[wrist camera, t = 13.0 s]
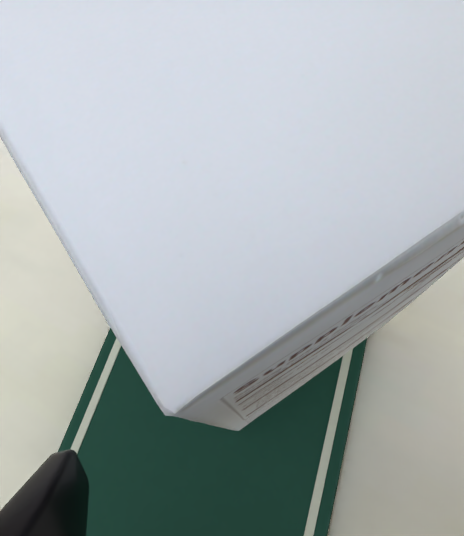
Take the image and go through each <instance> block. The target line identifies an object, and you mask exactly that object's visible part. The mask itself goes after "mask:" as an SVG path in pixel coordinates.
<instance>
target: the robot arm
mask: <svg viewBox="0 0 464 536" xmlns="http://www.w3.org/2000/svg"><path fill="white" fill-rule="evenodd" d="M88 503H89V480H88V477H87V475H86V473H85V470H84V468H83V466H82V464H81V462H80V460H79V457H78V455H77V453H76V452H75V451H74V450H71V449H69V450H65V451H61V452H57V453H54V454H52V455H51V456H50V457H49V458H48V459H47V460H46V461H45V462H44V463H43V464H42V465H41V467H40V468H39V469H38V470H37V471H36V472H35V473H34V474H33V475H32V477H31V478H30V479H29V480H28V481H27V482H26V483H25V484H24V485H23V486H22V488H21V489H20V490H19V491H18V492H17V493H16V494H15V495H14V496H13V497H12V499H11V500H10V501H9V502H8V503H7V504H6V505H5V506H4V507H3V508H2V510H1V511H0V536H86V531H87V517H88Z"/></svg>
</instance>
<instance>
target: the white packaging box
mask: <svg viewBox="0 0 464 536" xmlns="http://www.w3.org/2000/svg"><path fill="white" fill-rule="evenodd" d="M0 137H1V139H2V140H3V142H4V144H5V146H6V148H7V149H8V151H9V153H10V155H11V157H12V158H13V160H14V162H15V163H16V165H17V167H18V169H19V170H20V172H21V174H22V175H23V177H24V179H25V181H26V182H27V184H28V186H29V187H30V189H31V191H32V193H33V194H34V196H35V198H36V199H37V201H38V203H39V205H40V206H41V208H42V210H43V211H44V213H45V215H46V217H47V218H48V220H49V222H50V223H51V225H52V227H53V229H54V230H55V232H56V234H57V235H58V237H59V239H60V241H61V242H62V244H63V246H64V248H65V249H66V251H67V253H68V255H69V256H70V258H71V260H72V262H73V263H74V265H75V267H76V269H77V270H78V272H79V274H80V275H81V277H82V279H83V281H84V282H85V284H86V286H87V288H88V289H89V291H90V293H91V295H92V296H93V298H94V300H95V302H96V303H97V305H98V307H99V309H100V310H101V312H102V314H103V316H104V317H105V319H106V321H107V323H108V324H109V326H110V328H111V329H112V331H113V332H114V334H115V336H116V337H117V339H118V341H119V342H120V344H121V346H122V347H123V349H124V351H125V352H126V354H127V355H128V357H129V359H130V360H131V362H132V364H133V365H134V367H135V369H136V370H137V372H138V374H139V375H140V377H141V378H142V380H143V382H144V383H145V385H146V387H147V388H148V390H149V392H150V393H151V395H152V397H153V398H154V400H155V401H156V403H157V405H158V406H159V408H160V409H161V410H162V412H163V413H164V414H165V416H175V417H179V418H184V419H188V420H190V421H195V422H201V423H205V424H208V425H212V426H217V427H221V428H226V429H230V430H235V431H239V430H241V429H242V428H244V427H245V426H246V425H248V424H249V423H250V422H252V421H253V420H254V419H256V418H257V417H259V416H260V415H261V414H263V413H264V412H266V411H267V410H268V409H270V408H271V407H273V406H274V405H275V404H277V403H278V402H280V401H281V400H282V399H284V398H285V397H287V396H288V395H289V394H291V393H292V392H294V391H295V390H296V389H298V388H299V387H301V386H302V385H303V384H305V383H306V382H308V381H309V380H310V379H312V378H313V377H314V376H316V375H317V374H319V373H320V372H321V371H323V370H324V369H326V368H327V367H328V366H330V365H331V364H332V363H334V362H335V361H337V360H338V359H339V358H341V357H342V356H343V355H345V354H346V353H347V352H349V351H350V350H351V349H353V348H354V347H355V346H357V345H358V344H359V343H361V342H362V341H363V340H365V339H366V338H367V337H369V336H370V335H371V334H373V333H374V332H375V331H377V330H378V329H379V328H381V327H382V326H383V325H385V324H386V323H387V322H388V321H390V320H391V319H392V318H393V317H394V316H395V315H397V314H398V313H399V312H400V311H401V310H403V309H404V308H405V307H407V306H408V305H409V304H410V303H412V302H413V301H414V300H415V299H416V298H417V297H418V296H419V295H421V294H422V293H423V292H424V291H425V290H427V289H428V288H429V287H430V286H431V285H432V284H434V283H435V282H436V281H437V280H438V279H439V278H440V277H441V276H443V275H444V274H445V273H446V272H447V271H448V270H449V269H451V268H452V267H453V266H454V265H455V264H456V263H458V262H459V261H460V260H461V259H462V258H463V257H464V0H0Z"/></svg>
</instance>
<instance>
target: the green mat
mask: <svg viewBox="0 0 464 536" xmlns="http://www.w3.org/2000/svg"><path fill="white" fill-rule="evenodd" d="M366 341H367V338H366V339H365V340H363V341H362V342H361V343H359V344H358V345H357V346H355V347H354V348H353V349H351V350H350V351H349V352H347V353H346V354H345V355H343V356H342V357H341V358H339V359H338V360H337V361H335V362H334V363H332V364H331V365H330V366H328V367H327V368H326V369H324V370H323V371H321V372H320V373H319V374H317V375H316V376H314V377H313V378H312V379H310V380H309V381H308V382H306V383H305V384H303V385H302V386H301V387H299V388H298V389H296V390H295V391H294V392H292V393H291V394H289V395H288V396H287V397H285V398H284V399H282V400H281V401H280V402H278V403H277V404H275V405H274V406H273V407H271V408H270V409H268V410H267V411H266V412H264V413H263V414H261V415H260V416H259V417H257V418H256V419H254V420H253V421H252V422H250V423H249V424H248V425H246V426H245V427H244V428H242V429H241V430H239V431H235V430H230V429H226V428H221V427H217V426H212V425H208V424H205V423H201V422H195V421H190V420H188V419H184V418H179V417H175V416H165V414H164V413H163V412H162V410H161V409H160V408H159V406H158V405H157V403H156V401H155V400H154V398H153V397H152V395H151V393H150V392H149V390H148V388H147V387H146V385H145V383H144V382H143V380H142V378H141V377H140V375H139V374H138V372H137V370H136V369H135V367H134V365H133V364H132V362H131V360H130V359H129V357H128V355H127V354H126V352H125V351H124V349H123V347H122V346H121V344H120V342H119V341H118V339H117V337H116V336H115V334H114V332H113V331H112V329H111V328H110V330H109V332H108V335H107V337H106V339H105V342H104V344H103V346H102V349H101V351H100V354H99V356H98V358H97V361H96V363H95V365H94V368H93V370H92V372H91V375H90V377H89V380H88V382H87V384H86V387H85V389H84V391H83V394H82V396H81V398H80V401H79V403H78V406H77V408H76V410H75V413H74V415H73V417H72V420H71V422H70V425H69V427H68V429H67V432H66V434H65V436H64V439H63V441H62V443H61V446H60V448H59V451H58V452H61V451H65V450H69V449H71V450H74V451H75V452H76V453H77V455H78V457H79V460H80V462H81V464H82V466H83V468H84V470H85V473H86V475H87V477H88V480H89V503H88V517H87V531H86V536H327V534H328V529H329V524H330V519H331V514H332V509H333V504H334V499H335V494H336V489H337V485H338V480H339V475H340V470H341V465H342V460H343V455H344V450H345V445H346V440H347V435H348V430H349V425H350V420H351V415H352V410H353V405H354V400H355V396H356V391H357V386H358V381H359V376H360V371H361V366H362V361H363V356H364V351H365V346H366Z"/></svg>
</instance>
